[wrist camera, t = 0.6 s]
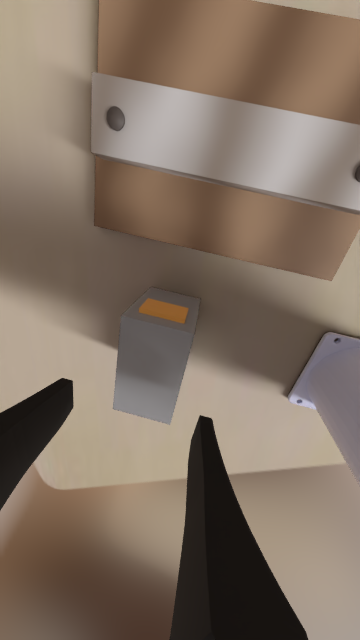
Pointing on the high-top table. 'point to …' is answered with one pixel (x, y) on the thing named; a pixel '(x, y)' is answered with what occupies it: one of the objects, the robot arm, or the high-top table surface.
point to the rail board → (242, 75)
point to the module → (154, 353)
